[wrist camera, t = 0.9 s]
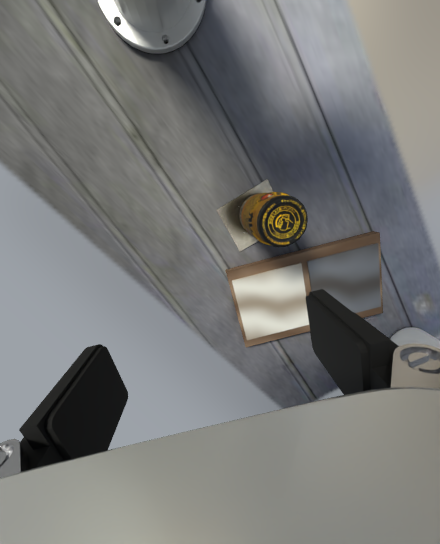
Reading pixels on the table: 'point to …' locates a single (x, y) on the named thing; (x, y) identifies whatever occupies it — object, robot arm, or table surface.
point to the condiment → (264, 217)
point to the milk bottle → (414, 337)
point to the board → (306, 286)
